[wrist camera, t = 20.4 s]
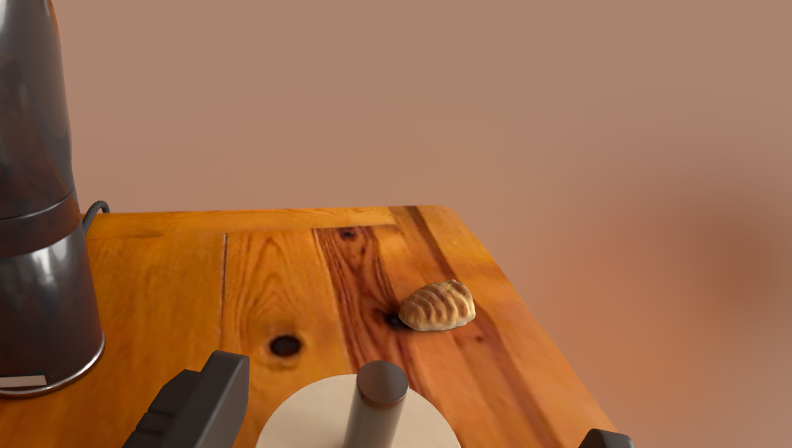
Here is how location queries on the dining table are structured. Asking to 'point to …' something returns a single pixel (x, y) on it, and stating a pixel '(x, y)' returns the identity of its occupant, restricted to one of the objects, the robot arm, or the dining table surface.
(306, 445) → the lid
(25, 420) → the dining table surface
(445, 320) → the pastry
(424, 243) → the dining table surface
